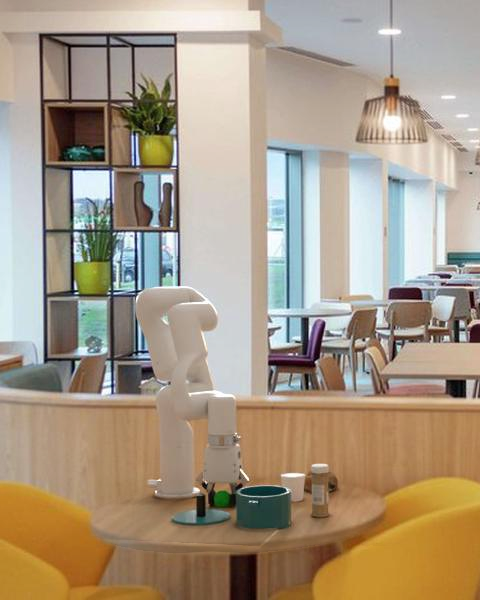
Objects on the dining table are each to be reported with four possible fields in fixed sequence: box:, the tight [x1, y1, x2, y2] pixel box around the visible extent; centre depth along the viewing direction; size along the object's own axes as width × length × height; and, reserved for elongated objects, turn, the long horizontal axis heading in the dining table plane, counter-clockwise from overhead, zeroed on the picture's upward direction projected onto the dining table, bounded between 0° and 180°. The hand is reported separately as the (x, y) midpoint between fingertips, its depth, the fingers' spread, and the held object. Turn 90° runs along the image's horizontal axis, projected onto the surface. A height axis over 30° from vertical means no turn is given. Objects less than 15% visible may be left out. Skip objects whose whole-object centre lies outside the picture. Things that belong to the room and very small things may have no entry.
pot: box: [235, 484, 292, 530], centre depth 270 cm, size 14×19×8 cm
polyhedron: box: [213, 489, 231, 508], centre depth 288 cm, size 5×5×5 cm
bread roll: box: [304, 469, 339, 493], centre depth 311 cm, size 10×10×8 cm
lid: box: [171, 493, 231, 526], centre depth 274 cm, size 15×15×7 cm
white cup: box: [280, 472, 306, 503], centre depth 298 cm, size 7×7×7 cm
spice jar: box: [310, 463, 330, 518], centre depth 279 cm, size 5×5×14 cm
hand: (222, 506), depth 288 cm, fingers closed on polyhedron, 5 cm apart
